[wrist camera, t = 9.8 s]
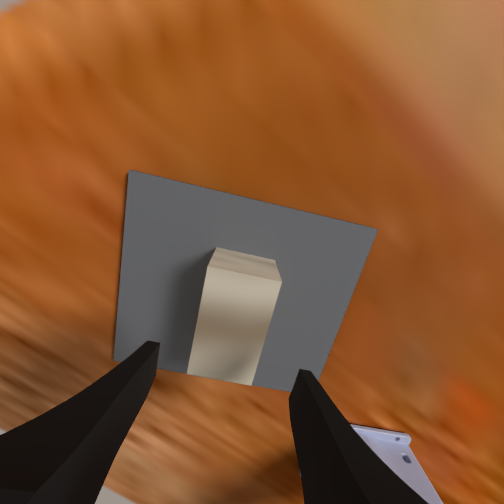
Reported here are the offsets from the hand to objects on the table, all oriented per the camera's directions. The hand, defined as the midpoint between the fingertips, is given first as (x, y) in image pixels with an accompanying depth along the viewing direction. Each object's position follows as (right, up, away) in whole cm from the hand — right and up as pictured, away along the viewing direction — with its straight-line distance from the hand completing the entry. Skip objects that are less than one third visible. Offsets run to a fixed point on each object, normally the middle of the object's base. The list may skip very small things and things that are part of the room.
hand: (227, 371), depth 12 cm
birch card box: (0, +2, +7) cm, 7 cm away
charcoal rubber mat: (0, +2, +8) cm, 8 cm away
